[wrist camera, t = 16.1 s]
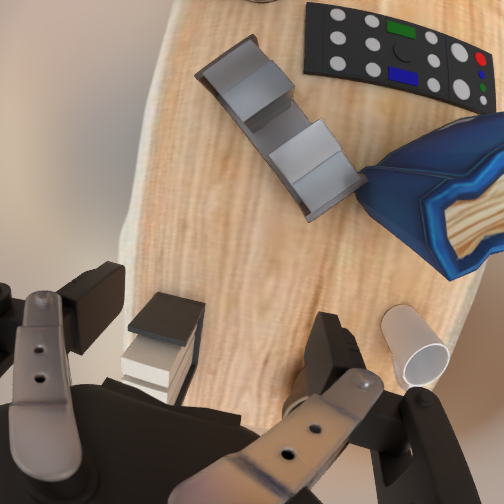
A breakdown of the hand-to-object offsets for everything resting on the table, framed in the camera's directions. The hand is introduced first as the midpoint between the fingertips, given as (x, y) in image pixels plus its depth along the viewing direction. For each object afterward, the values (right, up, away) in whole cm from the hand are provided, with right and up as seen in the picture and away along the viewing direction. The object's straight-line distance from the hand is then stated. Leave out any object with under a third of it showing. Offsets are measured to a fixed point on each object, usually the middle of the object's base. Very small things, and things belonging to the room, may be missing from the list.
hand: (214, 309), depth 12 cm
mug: (+24, -10, +32) cm, 41 cm away
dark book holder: (-10, -10, +35) cm, 38 cm away
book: (+24, +14, +25) cm, 37 cm away
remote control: (+24, +30, +21) cm, 43 cm away
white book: (-10, -8, +33) cm, 36 cm away
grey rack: (+5, +18, +26) cm, 31 cm away
